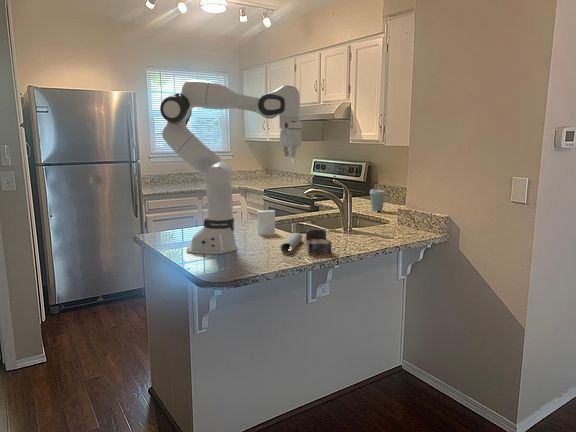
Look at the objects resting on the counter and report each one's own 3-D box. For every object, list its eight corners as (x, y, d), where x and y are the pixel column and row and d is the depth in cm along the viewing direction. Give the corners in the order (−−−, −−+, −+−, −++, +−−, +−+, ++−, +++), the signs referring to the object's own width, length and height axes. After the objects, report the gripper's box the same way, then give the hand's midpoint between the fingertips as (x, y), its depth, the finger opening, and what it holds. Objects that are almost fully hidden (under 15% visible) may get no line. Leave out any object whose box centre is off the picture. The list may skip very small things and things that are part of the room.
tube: (290, 232, 211) (278, 244, 187) (301, 229, 210) (290, 241, 186) (294, 243, 212) (282, 256, 188) (304, 240, 210) (294, 253, 186)
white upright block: (272, 231, 232) (272, 209, 230) (277, 234, 224) (277, 212, 222) (256, 232, 230) (255, 210, 227) (260, 235, 221) (260, 213, 219)
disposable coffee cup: (386, 210, 295) (387, 189, 292) (383, 213, 285) (383, 191, 282) (371, 209, 299) (371, 188, 296) (367, 212, 289) (367, 190, 287)
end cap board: (308, 255, 185) (308, 243, 184) (305, 239, 214) (305, 229, 213) (331, 255, 185) (331, 243, 184) (325, 239, 214) (325, 229, 213)
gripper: (276, 125, 195) (276, 156, 197) (289, 124, 175) (289, 158, 178) (289, 125, 197) (289, 155, 199) (304, 124, 177) (303, 157, 180)
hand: (289, 157), depth 188 cm, fingers open, 8 cm apart
